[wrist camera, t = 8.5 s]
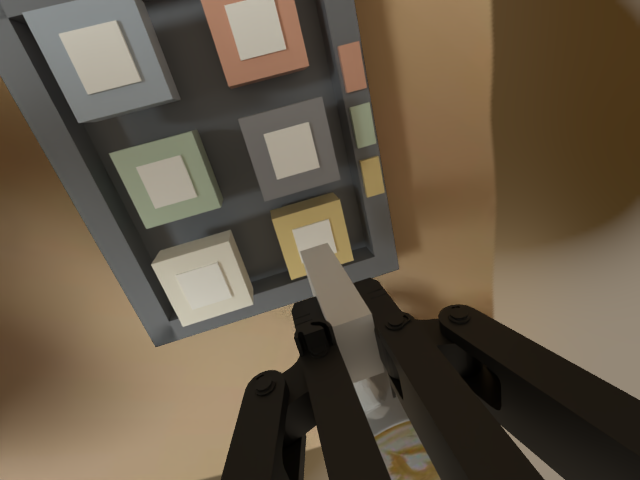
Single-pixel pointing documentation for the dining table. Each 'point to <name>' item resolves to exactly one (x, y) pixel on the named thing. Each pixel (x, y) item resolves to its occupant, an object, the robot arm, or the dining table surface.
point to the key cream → (204, 278)
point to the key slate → (103, 57)
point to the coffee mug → (393, 431)
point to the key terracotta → (256, 39)
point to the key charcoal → (290, 148)
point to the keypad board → (210, 153)
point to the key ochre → (311, 230)
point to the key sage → (169, 178)
